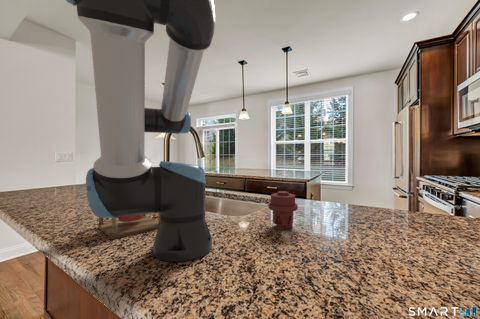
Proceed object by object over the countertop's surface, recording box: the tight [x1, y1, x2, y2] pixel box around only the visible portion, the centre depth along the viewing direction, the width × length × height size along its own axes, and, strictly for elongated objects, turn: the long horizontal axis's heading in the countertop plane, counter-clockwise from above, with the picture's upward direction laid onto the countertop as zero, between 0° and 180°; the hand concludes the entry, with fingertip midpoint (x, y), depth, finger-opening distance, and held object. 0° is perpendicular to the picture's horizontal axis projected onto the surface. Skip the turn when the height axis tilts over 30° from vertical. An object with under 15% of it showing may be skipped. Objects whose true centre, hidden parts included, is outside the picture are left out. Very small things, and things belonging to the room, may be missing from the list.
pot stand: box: [97, 213, 160, 240], centre depth 78 cm, size 16×16×6 cm
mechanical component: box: [268, 190, 299, 231], centre depth 78 cm, size 12×10×10 cm
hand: (130, 214), depth 78 cm, fingers closed on flower pot, 10 cm apart
